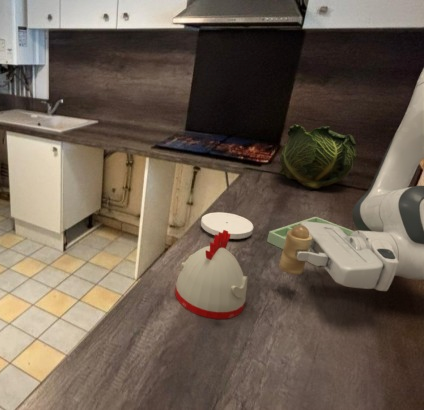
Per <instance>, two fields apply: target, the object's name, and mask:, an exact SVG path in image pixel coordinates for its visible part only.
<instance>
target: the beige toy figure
mask: <svg viewBox="0 0 424 410" xmlns="http://www.w3.org/2000/svg"><path fill="white" fill-rule="evenodd" d="M311 240H312V236H311V235H310V234H309V230H308V229H307V228H306V227H305V226H302V225H297V226H295V227H293V228H292V230H290V231H288V232H287V235H286V239H285V243H284V247H283V249H282V252H281V256H280V260H279V264H278V268H279V269H280V270H281V271H283V272H284V273H287V274H290V275H301V274H303V272H304V268H305V266H306V265H305V264H306V262H307V261H299V260H298V259H297V258H296V256H295V253H296V250H297V249H301V250H302V249H304V250H307V251H309V247H310V244H311Z"/></svg>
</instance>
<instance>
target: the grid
mask: <svg viewBox="0 0 424 410" xmlns="http://www.w3.org/2000/svg"><path fill="white" fill-rule="evenodd" d="M305 221H308V222H318V223H326V224H331V225H335V226H337V227H339V228H340V229H341V230H342V231H344V232H346V234H347V235H348V236H350V234H351V233H353V232H354V231H355V230H352V229H350V228H347V227H344V226H341V225H339V224H336V223H334V222H331V221H329V220H325V219H324V218H320V217H318V216H313V217H310V218H307V219H304V220H300V221H297V222H294V223H291V224H288V225H286V226H282V227H280V228H279V227H278V228H276V229H273V230H269V231H268V236H267V238H266V242H267V243H269V244H271V245H273V246H275V247H277V248H279V249H280V250H283V247H284V243H285V239H286V235H287V232H288V231H290V230H292V228H293V227H295V226H297V225H300V223H302V222H305ZM308 252H311V251H310V250H309V251H308ZM308 263H310V262H308ZM310 264H311V265H313V266H315V267H317V268H319V267H320V266H318V265H316V264H313V263H310Z"/></svg>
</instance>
